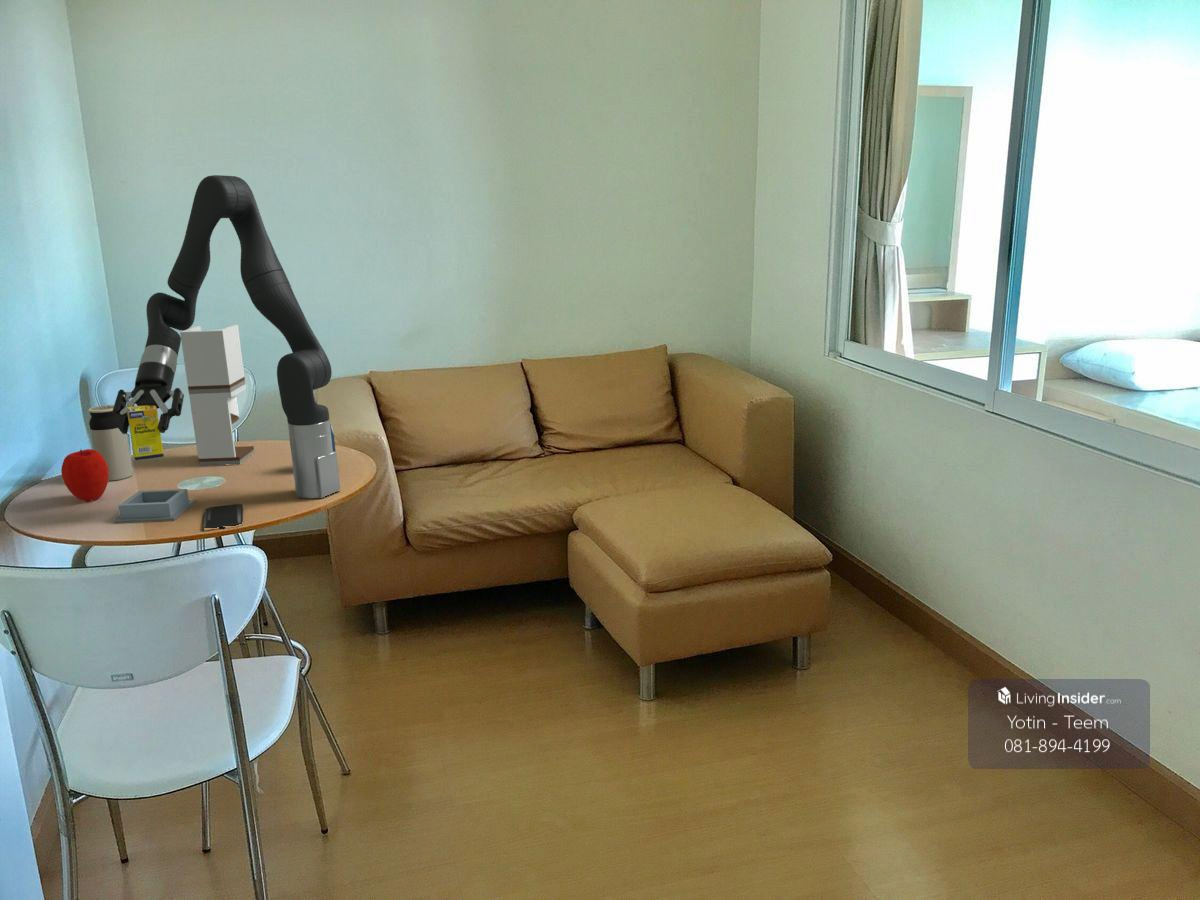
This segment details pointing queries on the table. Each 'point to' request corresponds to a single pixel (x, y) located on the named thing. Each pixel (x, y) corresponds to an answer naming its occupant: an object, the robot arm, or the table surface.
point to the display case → (215, 392)
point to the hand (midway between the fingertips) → (142, 431)
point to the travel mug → (110, 442)
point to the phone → (223, 516)
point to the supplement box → (145, 432)
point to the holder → (154, 506)
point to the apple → (85, 474)
